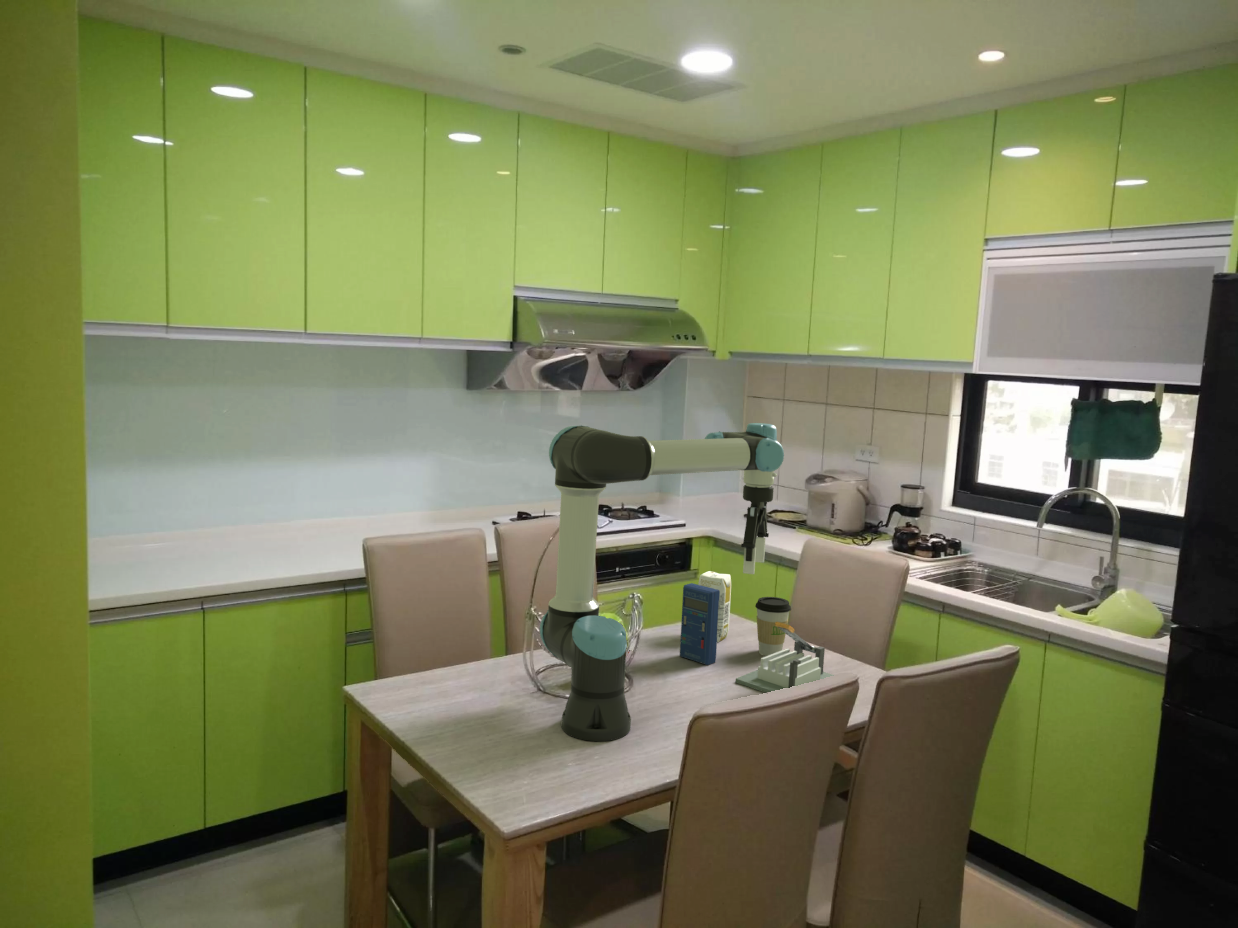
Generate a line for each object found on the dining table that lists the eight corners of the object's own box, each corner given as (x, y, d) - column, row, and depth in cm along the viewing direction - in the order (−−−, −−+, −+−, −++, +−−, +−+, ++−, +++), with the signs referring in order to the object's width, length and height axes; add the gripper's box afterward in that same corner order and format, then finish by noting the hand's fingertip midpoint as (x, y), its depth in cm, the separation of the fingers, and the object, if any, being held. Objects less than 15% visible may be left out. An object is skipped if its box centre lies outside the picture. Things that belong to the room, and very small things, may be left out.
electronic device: (677, 657, 244) (681, 585, 242) (689, 652, 248) (693, 582, 245) (706, 666, 238) (710, 592, 235) (717, 661, 242) (721, 589, 239)
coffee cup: (790, 659, 246) (794, 606, 244) (755, 658, 246) (758, 605, 244) (784, 648, 255) (788, 596, 254) (750, 646, 256) (753, 595, 254)
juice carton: (719, 643, 257) (723, 579, 254) (692, 638, 261) (696, 574, 259) (730, 637, 263) (734, 574, 261) (703, 631, 267) (707, 569, 265)
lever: (787, 631, 221) (789, 625, 222) (773, 627, 224) (776, 621, 225) (816, 654, 233) (818, 648, 234) (802, 650, 236) (805, 644, 236)
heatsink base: (796, 703, 215) (798, 668, 214) (735, 682, 227) (737, 648, 226) (843, 681, 231) (845, 648, 230) (783, 662, 243) (785, 631, 242)
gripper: (764, 493, 212) (759, 580, 215) (781, 480, 236) (776, 558, 239) (733, 490, 215) (728, 576, 218) (753, 477, 238) (748, 555, 241)
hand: (753, 567), depth 228 cm, fingers open, 13 cm apart
